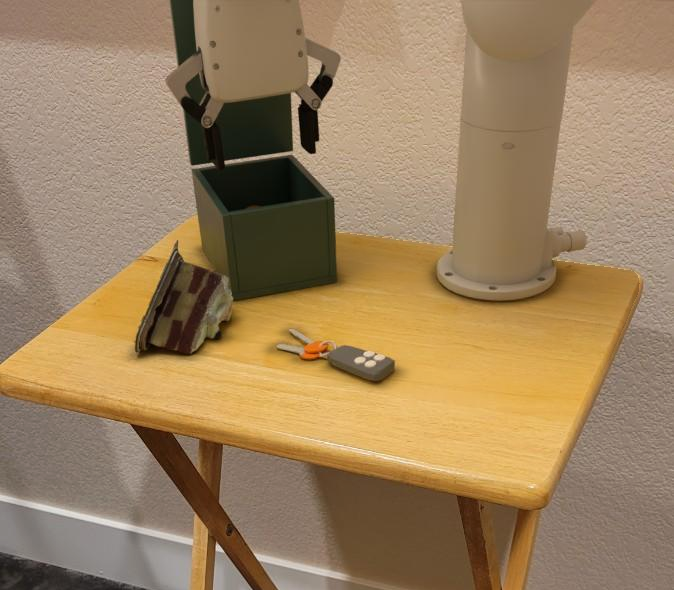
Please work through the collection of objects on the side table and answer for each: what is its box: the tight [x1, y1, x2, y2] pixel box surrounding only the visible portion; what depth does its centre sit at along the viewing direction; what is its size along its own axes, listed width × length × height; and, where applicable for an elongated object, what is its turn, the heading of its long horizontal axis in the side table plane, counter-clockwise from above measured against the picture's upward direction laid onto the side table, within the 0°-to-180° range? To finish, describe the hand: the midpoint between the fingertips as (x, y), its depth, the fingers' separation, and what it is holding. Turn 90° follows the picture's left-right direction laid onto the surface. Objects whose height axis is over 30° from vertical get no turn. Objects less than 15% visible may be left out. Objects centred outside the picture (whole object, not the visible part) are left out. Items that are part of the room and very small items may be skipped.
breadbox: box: [191, 154, 338, 302], centre depth 95 cm, size 15×12×9 cm
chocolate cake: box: [134, 239, 234, 355], centre depth 87 cm, size 10×7×12 cm
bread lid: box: [169, 0, 294, 167], centre depth 93 cm, size 16×12×6 cm
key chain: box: [276, 328, 396, 382], centre depth 82 cm, size 13×4×2 cm, turn 52°
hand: (264, 158), depth 91 cm, fingers open, 9 cm apart
